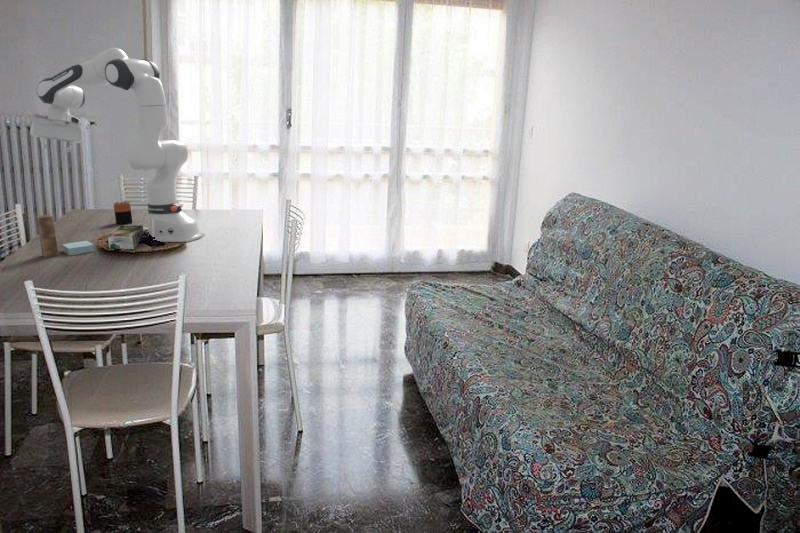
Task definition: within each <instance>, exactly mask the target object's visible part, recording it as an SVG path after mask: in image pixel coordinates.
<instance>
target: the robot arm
mask: <svg viewBox="0 0 800 533" xmlns="http://www.w3.org/2000/svg"><path fill="white" fill-rule="evenodd" d="M160 73H161V72H160V70H159V68H158V65H157V64H156V63H155V62H153V61H151V60H149V59H144V58H142V59H141V58H131V57H130V58H129V57H128V55H127V54H126V52H125V51H123V50H122V49H120V48H118V47H111V48H108V49H105V50H103V51H102V52H100V53H98V55H96V56H95V57H93V58H92V59H89V60H88V61H84V62H82V63H79V64H74V65H72V66H70V67H67V68H65V69H64V70H62V71H61V72H59V73H57V74H55V75H53V76H51V77H46V78H44V79H42V80H41V81H39V83H38V84H37V87H36V94H37V97H38V98H39V100H41V102H42V103H44V104H47V107H46V114H45V115H43V114H42V115H41V114H38V113H36V114H33V115H31V117H30V122H31V126H30V135H31V137H36V138H39V141H40V142H41V145H42V149H45V150H46V149H48V144H47V143H46V142H45V139H48V140H55V141H61V142H68V145H69V146H67V147H66V148H65V151H66V153H71V151H72V148H73V146H74V145H75V143H76V144H81V143H82V142H83V141H84V131H83V127H82V125H81V124H82V120H81V119H79V117H76V116H74V115H72V114H70V109H71V110H72V109H73V110H79V109H81V108H82V107H83V106H84V105H85V102H86V94H85V92H84V90H83V89H82V88H81V87H79V86H76V85H85V86H86V85H87V86H94V87H98V88H99V87H105V86H106V87H107V86H109V85H111V86H113V87H117V88H120V89H122V90H125V91H129V90H130V89H131V90H132V91H133V92H134V94H135V99H136V100H135V101H136V109H137V117H138V118H137V119H138V120H137V121H138V128H137V132H136V136H135V138H134V140H133V142H132V143H131V144H130V145H129V146H128V147H127V149H126V152H125V159H126V162H127V164H128V166H129V167H130V168H131V169H132V170H134V171H142V172H143V171H151V170H152V171H153V170H156V171H155V175H154V176H153V178H151V179H150V180H149V181H148V182H147V185H146V193H147V200H148V203H147V211H148V215H149V233H148V235H149V234H150V235H151V236H152V237H155V239H153V240H157V241H160V242H161V243H162V242H163V243H164V242H166V243H168V242H177V243H179V242H181V243H185V242H192V241H196V240H199V239H201V238H203V237H204V236H205V235H206V234H205V232H204V231H199V226H198V222H197V221H196V220H195V219H194V218H192V217H191V216H189V215H188V214H187V213H185V212H184V211H183V209H182V208H183V207H184V203H181V204H180V203H179V201H178V199H177V198H178V197H177V179H178V176H179V172H180V170H181V168H182V166H183V165H184V164H185V163H186V162H187V160H188V158H189V150H188V148H187V146H186V144H185V143H184V142H183V141H182V140H181V141H180V140H175V139H174V140H173V139H165V140H160V135H161V133H162V132H164V130H166V129H167V128H168V126H169V115H168V114H169V112H168V105H167V98H166V94H165V89H164V86H163V83H162V81H161V80H160Z"/></svg>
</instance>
